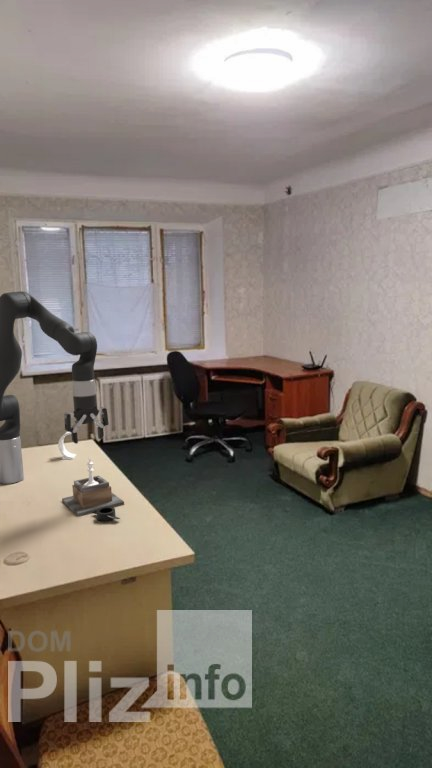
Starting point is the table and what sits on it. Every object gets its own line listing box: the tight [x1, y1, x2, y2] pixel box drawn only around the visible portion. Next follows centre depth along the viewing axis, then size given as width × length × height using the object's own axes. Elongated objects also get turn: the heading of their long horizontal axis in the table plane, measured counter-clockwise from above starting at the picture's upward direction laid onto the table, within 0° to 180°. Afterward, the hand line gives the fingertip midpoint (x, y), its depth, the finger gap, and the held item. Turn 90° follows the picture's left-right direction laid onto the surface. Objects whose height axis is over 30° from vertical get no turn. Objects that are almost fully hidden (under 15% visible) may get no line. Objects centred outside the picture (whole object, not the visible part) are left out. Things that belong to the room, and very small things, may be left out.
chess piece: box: [84, 457, 99, 487], centre depth 182 cm, size 5×5×10 cm
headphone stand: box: [57, 431, 77, 460], centre depth 234 cm, size 5×6×12 cm
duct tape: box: [92, 507, 121, 523], centre depth 170 cm, size 8×10×3 cm
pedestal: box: [61, 475, 125, 517], centre depth 183 cm, size 16×16×8 cm
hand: (88, 440), depth 180 cm, fingers open, 8 cm apart
